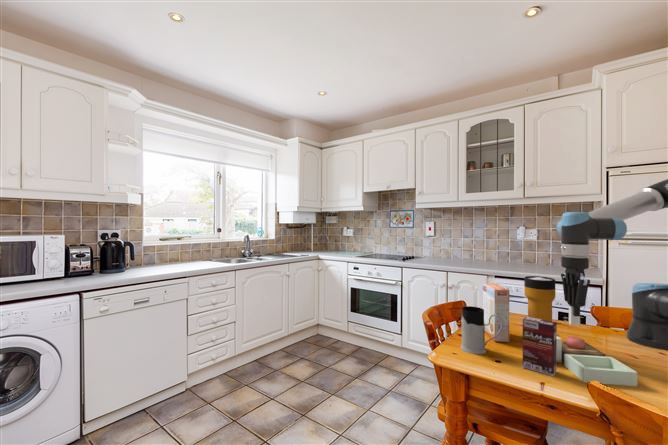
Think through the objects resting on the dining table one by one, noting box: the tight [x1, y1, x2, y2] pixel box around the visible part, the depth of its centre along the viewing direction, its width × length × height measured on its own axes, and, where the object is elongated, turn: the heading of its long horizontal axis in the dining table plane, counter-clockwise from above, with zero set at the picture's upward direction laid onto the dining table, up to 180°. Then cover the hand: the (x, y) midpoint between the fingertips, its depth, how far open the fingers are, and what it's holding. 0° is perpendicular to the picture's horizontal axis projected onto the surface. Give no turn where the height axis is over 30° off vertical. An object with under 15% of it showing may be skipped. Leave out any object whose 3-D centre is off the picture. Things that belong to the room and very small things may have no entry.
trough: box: [563, 354, 638, 387], centre depth 95 cm, size 14×10×4 cm
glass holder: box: [460, 305, 503, 355], centre depth 114 cm, size 9×14×15 cm, turn 67°
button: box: [566, 336, 586, 350], centre depth 106 cm, size 5×5×3 cm
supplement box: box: [522, 316, 558, 377], centre depth 98 cm, size 9×5×16 cm, turn 45°
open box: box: [556, 336, 563, 364], centre depth 107 cm, size 7×7×8 cm
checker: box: [561, 340, 606, 364], centre depth 106 cm, size 12×10×4 cm
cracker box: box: [482, 282, 510, 343], centre depth 128 cm, size 14×6×21 cm, turn 171°
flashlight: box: [523, 275, 556, 322], centre depth 119 cm, size 10×26×10 cm
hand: (574, 324), depth 106 cm, fingers closed
